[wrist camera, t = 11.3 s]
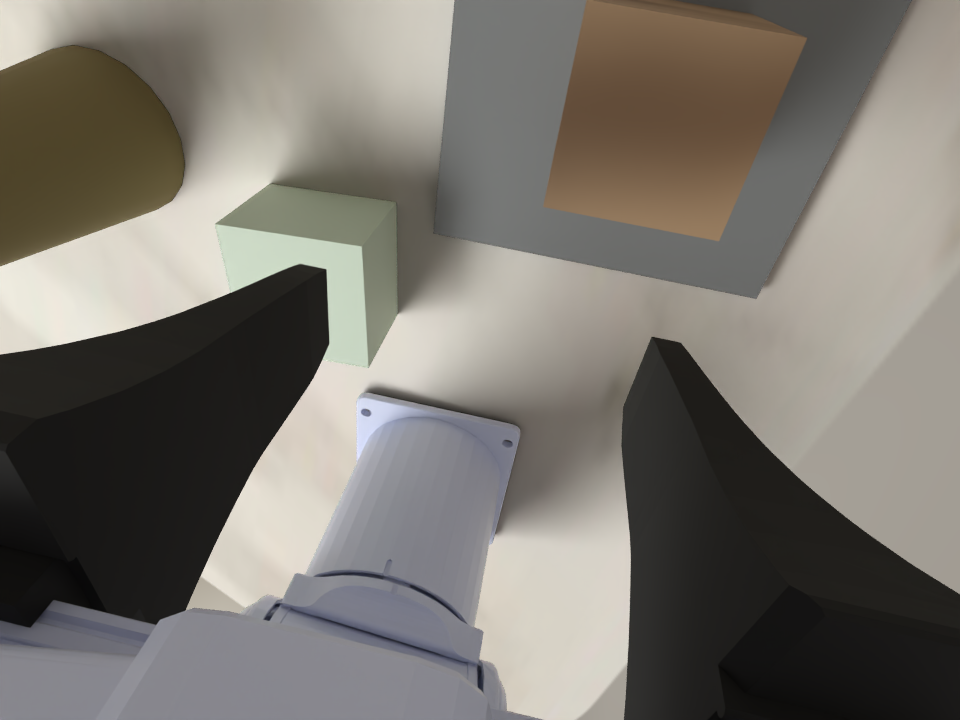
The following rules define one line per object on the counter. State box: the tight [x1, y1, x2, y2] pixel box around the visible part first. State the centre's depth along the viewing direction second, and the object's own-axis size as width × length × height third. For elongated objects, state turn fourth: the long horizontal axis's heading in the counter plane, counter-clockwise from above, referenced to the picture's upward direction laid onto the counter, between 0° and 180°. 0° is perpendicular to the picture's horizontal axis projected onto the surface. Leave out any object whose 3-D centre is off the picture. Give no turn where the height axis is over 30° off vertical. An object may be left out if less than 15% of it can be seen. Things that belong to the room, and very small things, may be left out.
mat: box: [434, 0, 912, 299], centre depth 17 cm, size 12×12×1 cm
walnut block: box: [543, 0, 807, 241], centre depth 15 cm, size 4×4×5 cm
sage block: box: [215, 184, 398, 368], centre depth 21 cm, size 5×5×4 cm
